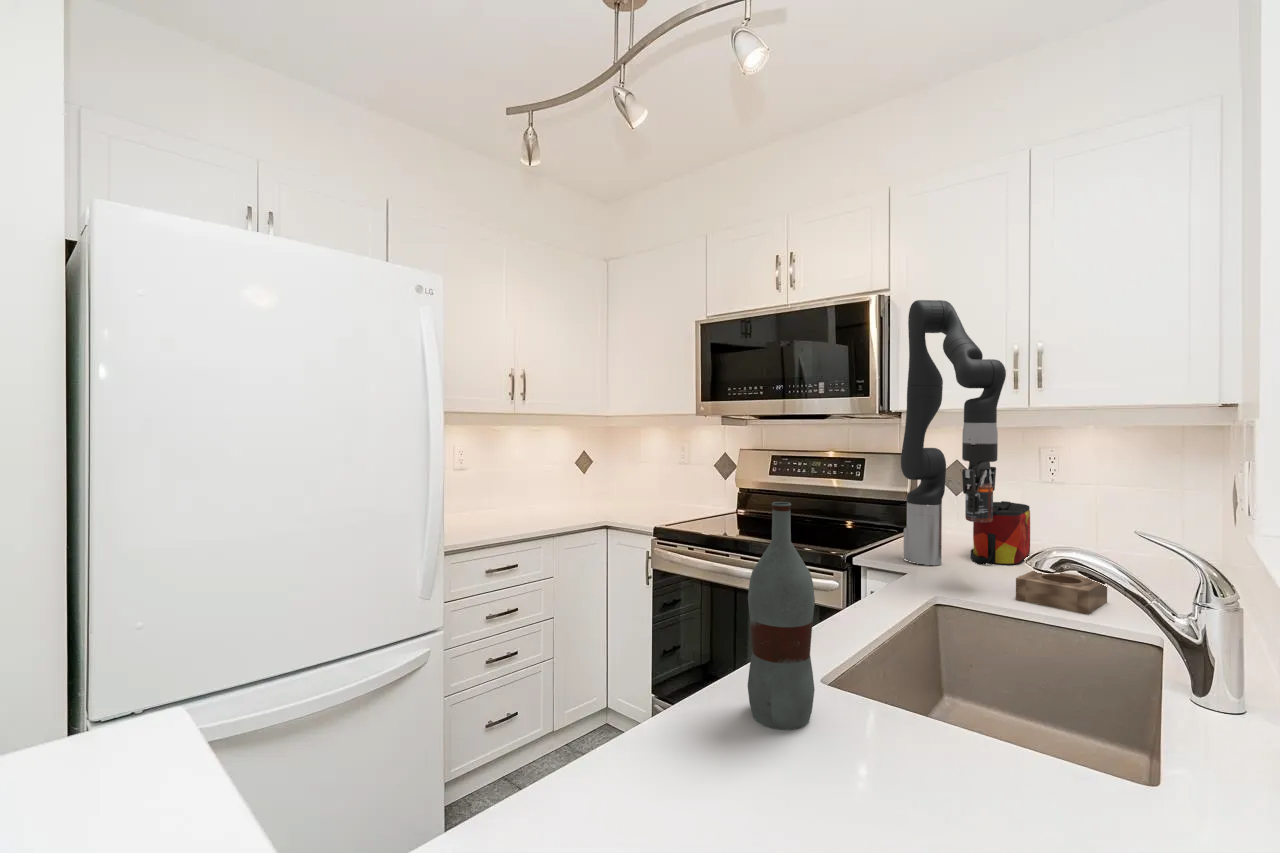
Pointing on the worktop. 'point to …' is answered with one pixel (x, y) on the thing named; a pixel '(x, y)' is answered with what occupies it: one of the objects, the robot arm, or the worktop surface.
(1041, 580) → the socket block
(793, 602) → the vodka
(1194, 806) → the worktop surface
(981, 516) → the supplement bottle
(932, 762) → the worktop surface
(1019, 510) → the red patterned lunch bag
